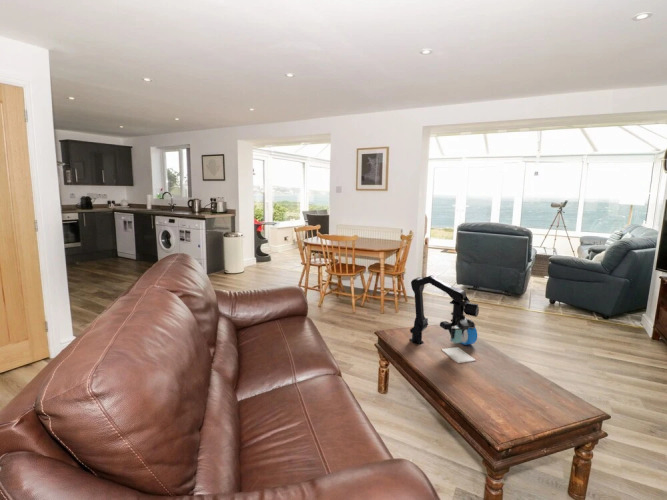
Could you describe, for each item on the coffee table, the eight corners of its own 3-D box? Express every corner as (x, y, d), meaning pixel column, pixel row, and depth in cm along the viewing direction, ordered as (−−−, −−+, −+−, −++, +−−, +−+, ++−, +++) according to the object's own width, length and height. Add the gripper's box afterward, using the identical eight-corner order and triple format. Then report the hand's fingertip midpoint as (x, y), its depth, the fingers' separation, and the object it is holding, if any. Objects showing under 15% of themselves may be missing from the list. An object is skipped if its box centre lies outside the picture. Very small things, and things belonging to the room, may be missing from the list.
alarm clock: (454, 339, 222) (456, 316, 219) (463, 338, 224) (465, 315, 221) (468, 348, 210) (470, 324, 207) (476, 347, 212) (479, 323, 209)
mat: (441, 350, 207) (441, 349, 207) (458, 348, 210) (458, 347, 210) (457, 363, 192) (458, 362, 192) (475, 361, 195) (475, 360, 195)
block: (450, 340, 204) (451, 327, 203) (456, 339, 205) (457, 326, 204) (454, 343, 200) (455, 329, 199) (460, 342, 201) (462, 329, 200)
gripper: (451, 318, 190) (449, 346, 192) (481, 316, 195) (479, 343, 197) (440, 311, 200) (438, 337, 203) (469, 309, 205) (466, 334, 208)
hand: (455, 338), depth 203 cm, fingers closed on block, 4 cm apart
